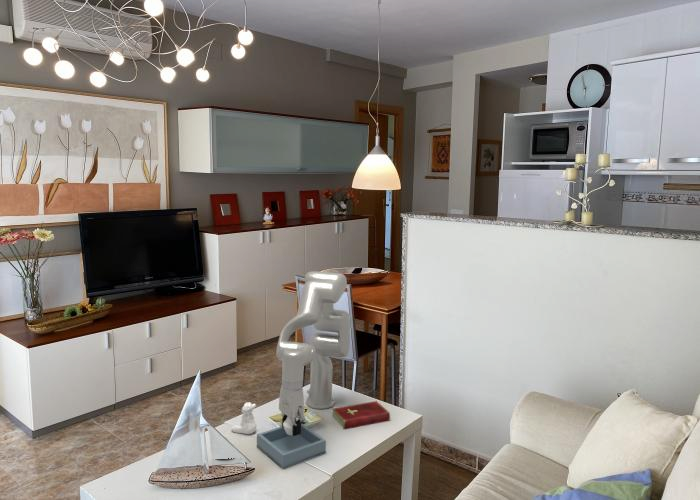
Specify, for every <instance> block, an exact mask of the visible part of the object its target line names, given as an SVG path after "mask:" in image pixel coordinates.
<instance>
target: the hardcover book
mask: <svg viewBox="0 0 700 500" xmlns="http://www.w3.org/2000/svg"><path fill="white" fill-rule="evenodd" d="M331 410H332V417H333V419H334V420H335V421H336V422H337V423H338V424H339V425H340V427H342V429H343V430H347V429H353V428H357V427H362V426H363V427H364V426H369V425H374V424H379V423H384V422H389V421H391V412H390V411H388V409H387V408H386V407H384V406H383V405H382V404H381V403H380V402H378V401H377V400H374V401H370V402H363V403H357V404H352V405H346V406H340V407H333V408H331Z"/></svg>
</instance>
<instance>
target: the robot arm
mask: <svg viewBox="0 0 700 500" xmlns="http://www.w3.org/2000/svg"><path fill="white" fill-rule="evenodd" d="M304 282H305V283H304V285H303V287H302V291H301V296H300V300H299V305H298V308H297V313H296V315H295V316H294V317H292V319H290V320H289V321H288V322H286V324H285V325H284V327H283V328H282V330H281V332H280V334H279V338H278V341H277V345H276V351H275V352H276V358H277V359H278V360H279V361H280V362H282V363H281V364H282V365H281V366H282V367H281V386H280V391H279V398H278V409H279V411H280V412H281V417H282V419H281V427H282V428H284V427H283V423H284V421H285V420H286V419H287V417H290V418H291V419H293V422H294V425H293V436H296V435H299V434H301V424H303V422H304V421H306V416H305V414H304V412H305V404H306V405H307V406H308V407H310V408H312V409H314V410H315V409H316V410H326V409H330V408H332V407H334V406H335V403H336V400H335V398H333V397H332V395H333V363H332V360H331V358H330V357H333V358H346V357H348V355H349V353H350V349H351V348H350V347H351V316H350V312H348V311H346V310H341V309H335V307H334V304H336V303H338V302H339V301H340V300H341V298H342V297H343V294H344V293H345V292H346V288H347V284H348V281H347V277H346V275H344V274H343V273H341V272H327V271H309V272H307V273H306V274H305V276H304ZM312 325H313V327H314V329H315V330H316V331H320V332H315V333H313V334H311V336H309V337H310V338H309V340H308V343H303V342H298V341H297V342H296V341H290V340H289V339H290V337H291V336H292V335H293V334H294V333H295V332H296V331H298V330H300V329H303V328H306V327H309V326H312ZM326 332H328V333H326ZM329 332H331V333H329ZM336 333H337V334H336ZM308 365H310V377H309V379H310V381H309V389H307V391H306V393H307V394H308V397H307V398H306V400H305V399H304V396H305V395H304V388H303V387H304V367H305V366H308ZM304 400H305V401H304ZM296 418H297V421H296Z"/></svg>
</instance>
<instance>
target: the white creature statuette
mask: <svg viewBox="0 0 700 500" xmlns="http://www.w3.org/2000/svg"><path fill="white" fill-rule="evenodd" d="M256 406H257V404H256V403H252V402H250V401H249V402H248V401H247V402H245V403H244V404H243V406H242V407H241V411H240V412H242V416H241V421H240V425H239V424H235V425H232V426H231V428H230V430H231V432H232V433H235V434H236V433H237V434H241V435H242V434H243V435H252V434H254V433H255V432H256V430H257V426H258V425H257V423H256V421H255V416H254V414H253V411H254V408H256Z"/></svg>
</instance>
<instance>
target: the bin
mask: <svg viewBox="0 0 700 500" xmlns="http://www.w3.org/2000/svg"><path fill="white" fill-rule="evenodd" d="M326 445H327V440H326V439H325V438H323V437H322V436H321V435H319V434H318V433H316V432H315V431H313V430H312V429H311V428H309V427H307V426H306V425H304V424H303V423H302V424H301V434H299V435H296V436H293V435H287V433H286V431H285V429H284V428H282V426H279V427H276V428H273V429H270V430H265V431H263V432H260V433H257V434H256V448H257V449H259V450H260V451H261V452H262V453H263V454H264V455H265V456H267V457H268V458H269V459H270V460H272V461H273V462H274V463H275V464H277V466H279V467H280V468H281V469H282V470H284V469H287V468H290V467H292V466H295V465H298V464H301V463H304V462H306V461H309V460H311V459H314V458H317V457H319V456H322V455H324V454H326V452H327V451H326V449H327V446H326Z"/></svg>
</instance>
